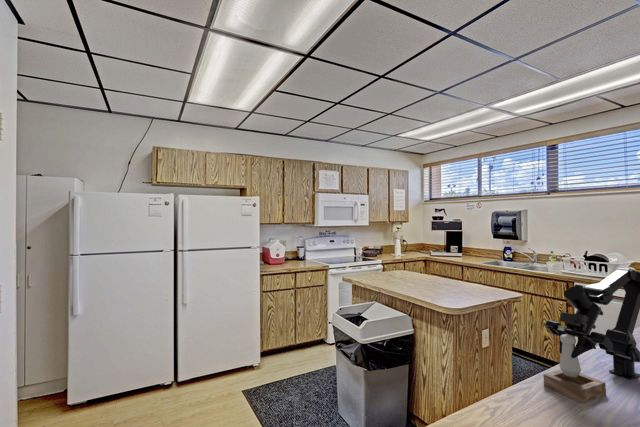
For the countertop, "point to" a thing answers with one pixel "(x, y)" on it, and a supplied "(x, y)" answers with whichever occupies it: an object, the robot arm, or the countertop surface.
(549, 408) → the countertop surface
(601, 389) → the socket block
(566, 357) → the salt shaker
